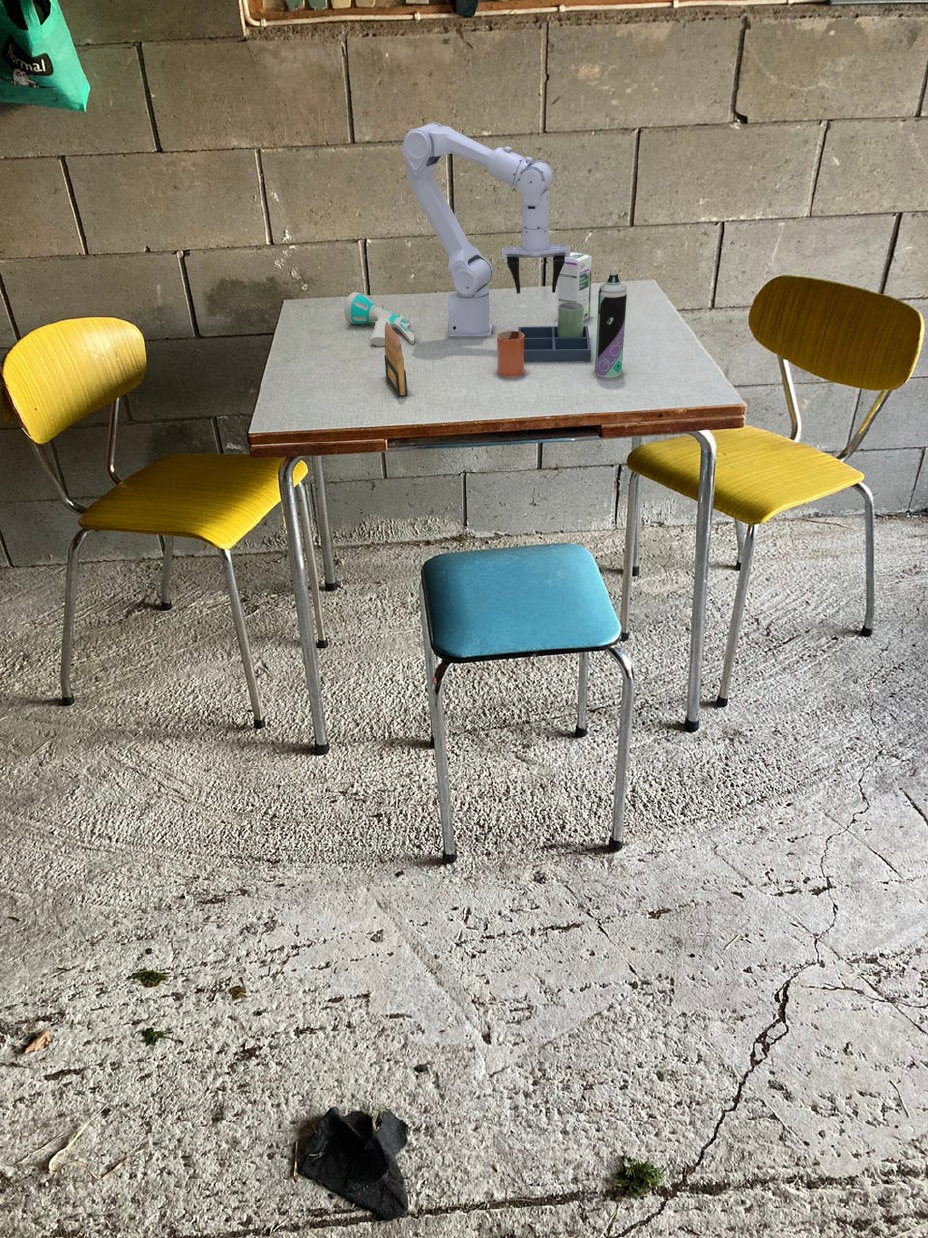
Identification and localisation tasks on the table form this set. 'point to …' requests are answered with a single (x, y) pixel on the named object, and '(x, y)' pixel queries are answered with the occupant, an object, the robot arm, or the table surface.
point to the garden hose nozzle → (375, 318)
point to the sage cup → (570, 320)
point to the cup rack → (554, 345)
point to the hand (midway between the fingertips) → (536, 291)
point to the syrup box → (576, 281)
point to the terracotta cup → (510, 353)
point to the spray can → (610, 327)
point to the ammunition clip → (394, 362)
